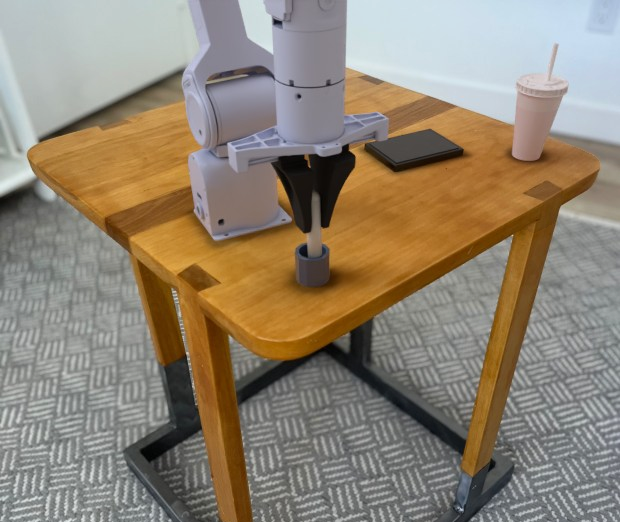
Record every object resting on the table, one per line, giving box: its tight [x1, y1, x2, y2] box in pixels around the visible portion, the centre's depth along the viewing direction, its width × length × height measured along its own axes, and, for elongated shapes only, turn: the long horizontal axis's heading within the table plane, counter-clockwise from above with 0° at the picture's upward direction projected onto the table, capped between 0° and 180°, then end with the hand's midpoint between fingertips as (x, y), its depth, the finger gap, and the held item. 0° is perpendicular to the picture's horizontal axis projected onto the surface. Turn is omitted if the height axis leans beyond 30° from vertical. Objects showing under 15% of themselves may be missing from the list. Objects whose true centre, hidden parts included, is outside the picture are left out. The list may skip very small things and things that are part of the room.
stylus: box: [306, 191, 323, 258], centre depth 59 cm, size 1×1×8 cm
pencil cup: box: [294, 241, 331, 288], centre depth 62 cm, size 3×3×4 cm
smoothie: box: [511, 42, 570, 162], centre depth 79 cm, size 6×6×14 cm
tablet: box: [363, 128, 465, 173], centre depth 85 cm, size 11×8×1 cm
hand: (312, 225), depth 59 cm, fingers closed on stylus, 1 cm apart
